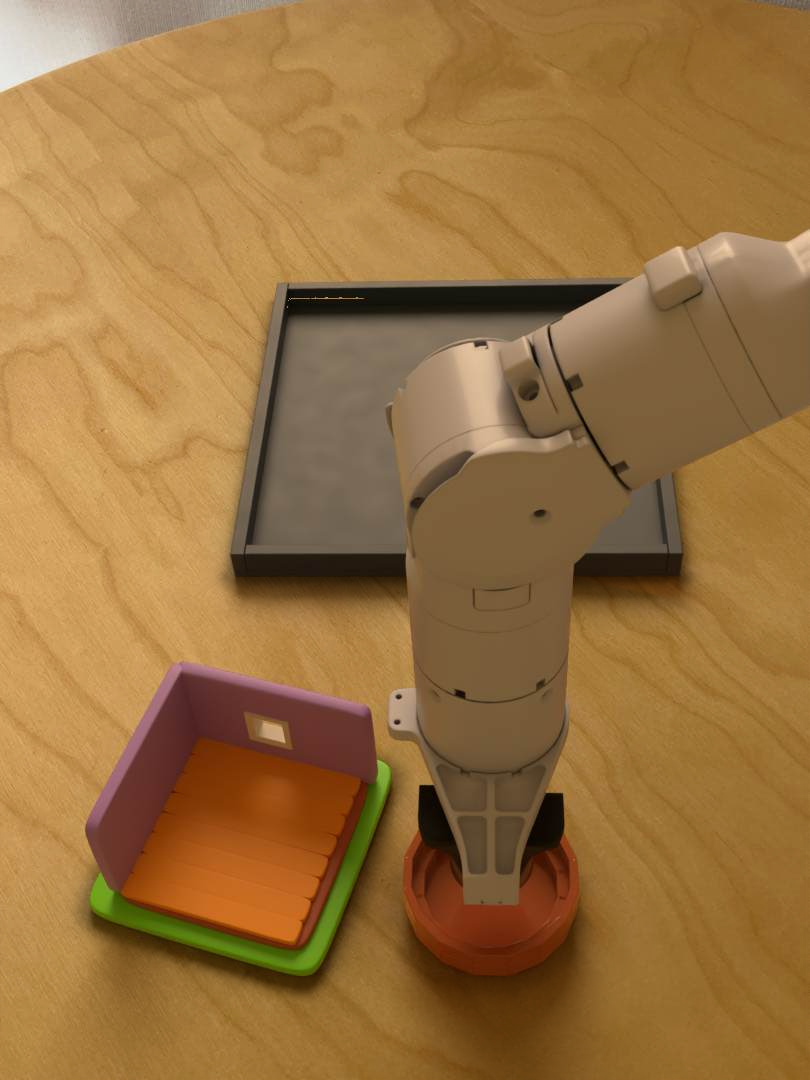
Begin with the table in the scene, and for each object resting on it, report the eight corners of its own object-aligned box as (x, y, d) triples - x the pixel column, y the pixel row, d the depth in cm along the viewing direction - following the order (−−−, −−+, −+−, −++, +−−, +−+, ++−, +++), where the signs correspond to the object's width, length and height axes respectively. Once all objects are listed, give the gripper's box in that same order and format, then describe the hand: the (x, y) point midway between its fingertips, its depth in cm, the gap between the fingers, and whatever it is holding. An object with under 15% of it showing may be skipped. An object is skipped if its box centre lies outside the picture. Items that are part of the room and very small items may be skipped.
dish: (572, 825, 66) (574, 798, 64) (579, 982, 60) (582, 957, 58) (409, 823, 66) (406, 796, 64) (402, 978, 61) (399, 954, 59)
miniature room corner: (186, 715, 71) (162, 635, 66) (399, 769, 68) (392, 689, 63) (81, 915, 64) (46, 841, 58) (317, 985, 61) (301, 914, 56)
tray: (644, 299, 93) (646, 276, 92) (680, 576, 76) (683, 553, 75) (280, 304, 95) (277, 282, 94) (234, 576, 78) (229, 554, 76)
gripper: (390, 497, 54) (406, 696, 64) (368, 812, 44) (392, 989, 54) (566, 496, 53) (555, 696, 63) (584, 814, 43) (568, 993, 53)
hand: (491, 832), depth 59 cm, fingers closed on bottle, 4 cm apart
